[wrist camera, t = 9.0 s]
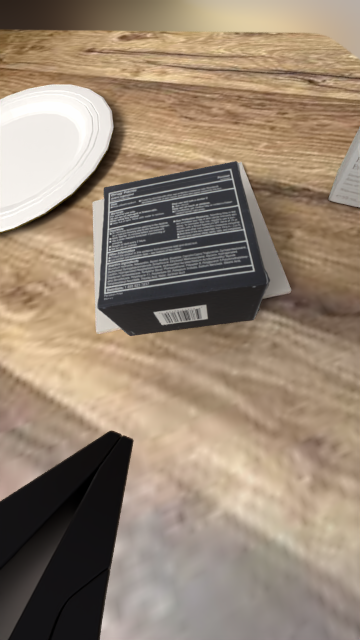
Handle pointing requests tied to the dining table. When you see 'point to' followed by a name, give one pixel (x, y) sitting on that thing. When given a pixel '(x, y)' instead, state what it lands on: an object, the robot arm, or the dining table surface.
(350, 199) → the skincare box
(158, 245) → the small box
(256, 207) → the mat
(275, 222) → the dining table surface
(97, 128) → the plate
